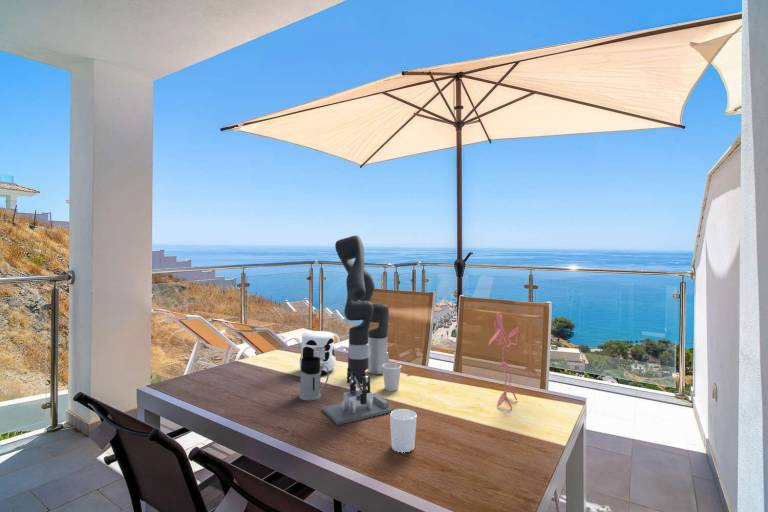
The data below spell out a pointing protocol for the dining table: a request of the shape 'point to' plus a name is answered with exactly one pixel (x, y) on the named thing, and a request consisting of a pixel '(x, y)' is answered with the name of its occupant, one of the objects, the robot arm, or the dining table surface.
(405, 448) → the white cup
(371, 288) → the robot arm
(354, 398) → the block
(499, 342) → the figurine
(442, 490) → the dining table surface
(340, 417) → the grey tapered peg board
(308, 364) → the white and black mug
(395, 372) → the dixie cup
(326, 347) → the milk container
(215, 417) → the dining table surface
